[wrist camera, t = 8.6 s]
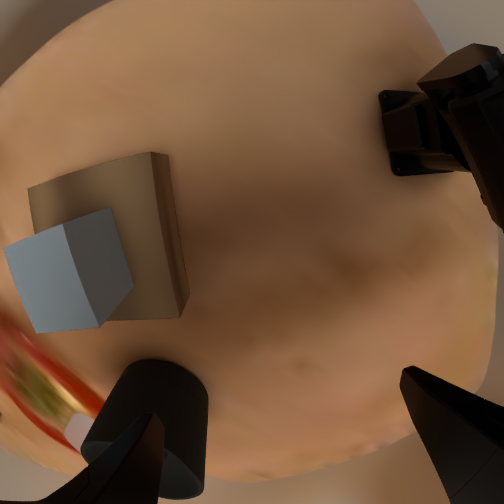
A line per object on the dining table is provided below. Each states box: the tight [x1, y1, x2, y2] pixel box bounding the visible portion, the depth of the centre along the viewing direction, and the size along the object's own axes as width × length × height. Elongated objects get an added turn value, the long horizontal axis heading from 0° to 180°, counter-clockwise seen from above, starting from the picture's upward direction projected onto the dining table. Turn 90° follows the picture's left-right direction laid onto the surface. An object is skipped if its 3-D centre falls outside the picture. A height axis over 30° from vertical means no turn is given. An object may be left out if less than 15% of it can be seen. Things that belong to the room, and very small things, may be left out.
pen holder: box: [81, 360, 208, 500], centre depth 18 cm, size 9×9×10 cm
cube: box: [3, 207, 134, 333], centre depth 13 cm, size 5×5×5 cm
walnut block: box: [28, 152, 190, 321], centre depth 17 cm, size 10×10×4 cm
